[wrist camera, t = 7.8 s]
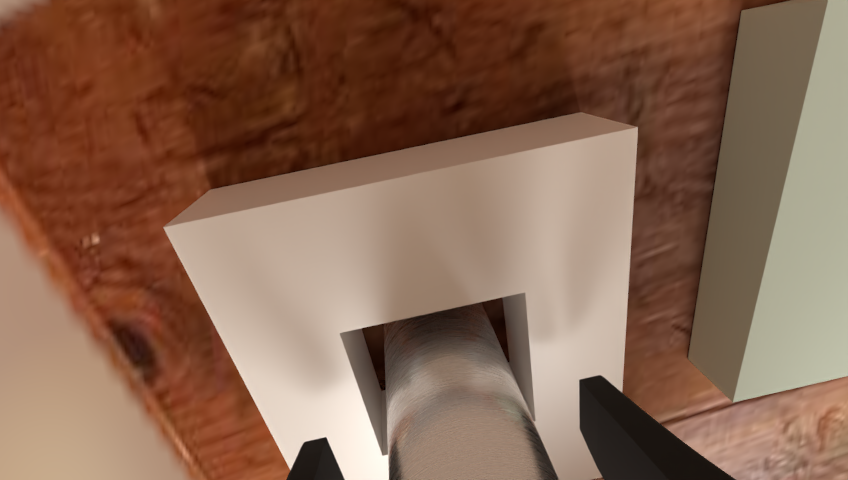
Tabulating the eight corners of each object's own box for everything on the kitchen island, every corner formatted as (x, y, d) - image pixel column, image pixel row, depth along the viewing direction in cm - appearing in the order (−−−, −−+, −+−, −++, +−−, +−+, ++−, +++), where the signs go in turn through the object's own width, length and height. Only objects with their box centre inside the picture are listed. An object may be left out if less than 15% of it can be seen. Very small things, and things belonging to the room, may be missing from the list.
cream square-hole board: (582, 413, 19) (617, 473, 16) (334, 469, 18) (327, 541, 16) (580, 112, 12) (637, 127, 10) (210, 189, 12) (163, 227, 10)
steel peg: (488, 350, 16) (600, 639, 8) (393, 369, 16) (413, 683, 8) (479, 268, 15) (611, 534, 6) (373, 289, 14) (373, 586, 6)
